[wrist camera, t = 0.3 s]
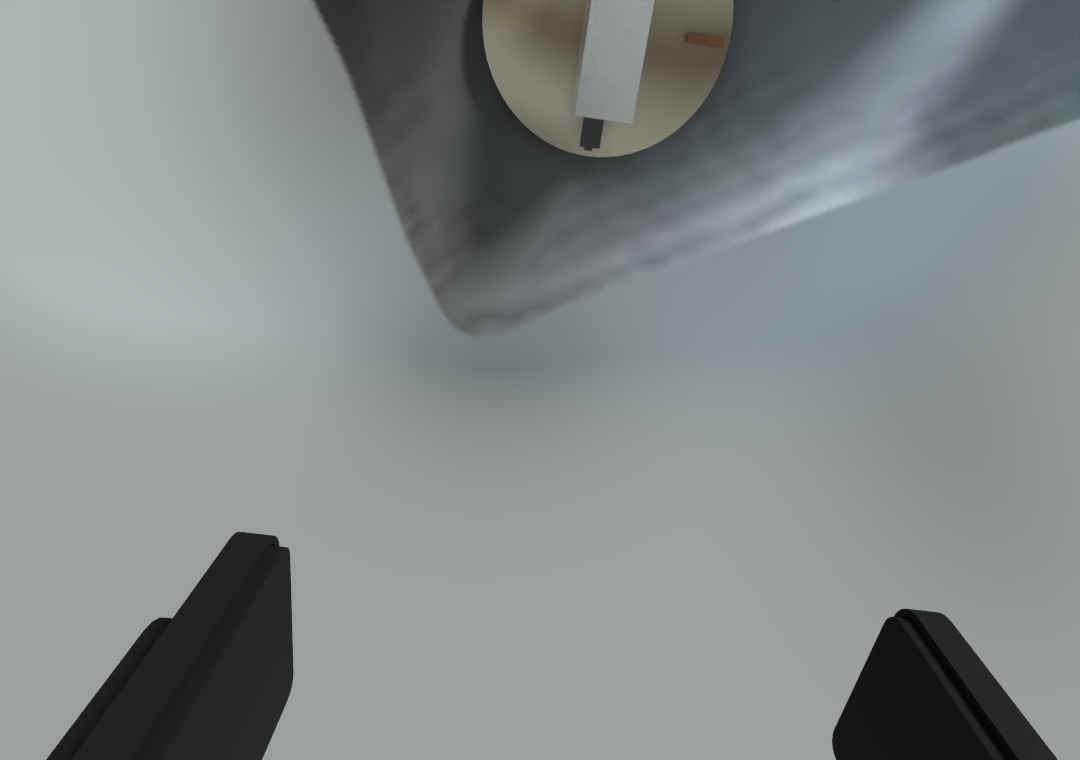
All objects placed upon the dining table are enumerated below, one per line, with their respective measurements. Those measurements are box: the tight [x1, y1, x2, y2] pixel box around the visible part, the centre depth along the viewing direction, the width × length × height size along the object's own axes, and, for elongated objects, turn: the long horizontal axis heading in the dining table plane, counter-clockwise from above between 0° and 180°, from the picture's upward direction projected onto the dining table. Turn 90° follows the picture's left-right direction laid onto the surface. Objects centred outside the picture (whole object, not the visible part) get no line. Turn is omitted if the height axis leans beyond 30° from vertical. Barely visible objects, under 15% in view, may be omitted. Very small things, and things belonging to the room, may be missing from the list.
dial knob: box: [570, 0, 654, 149], centre depth 28 cm, size 10×2×6 cm, turn 172°
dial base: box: [482, 0, 734, 157], centre depth 31 cm, size 12×12×2 cm
